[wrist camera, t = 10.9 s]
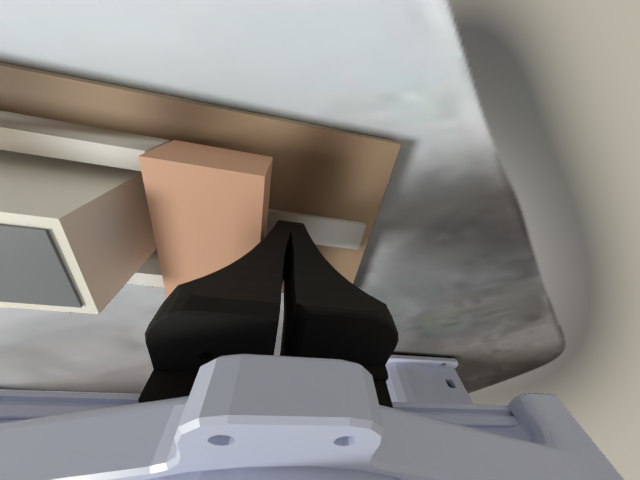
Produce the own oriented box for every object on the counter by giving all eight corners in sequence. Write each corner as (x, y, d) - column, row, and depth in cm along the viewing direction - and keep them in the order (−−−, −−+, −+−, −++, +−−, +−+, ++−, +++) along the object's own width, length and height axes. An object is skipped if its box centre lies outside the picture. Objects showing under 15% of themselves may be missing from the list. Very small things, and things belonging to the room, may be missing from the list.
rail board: (394, 140, 12) (418, 155, 10) (345, 288, 17) (352, 323, 15) (-109, 40, 9) (-267, 24, 7) (15, 255, 14) (-46, 291, 12)
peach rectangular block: (272, 156, 11) (264, 176, 8) (262, 280, 14) (255, 316, 12) (174, 139, 10) (138, 155, 8) (190, 273, 14) (169, 309, 12)
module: (150, 167, 11) (55, 220, 7) (163, 240, 13) (97, 316, 9) (-5, 143, 10) (-225, 187, 6) (35, 225, 12) (-106, 301, 8)
